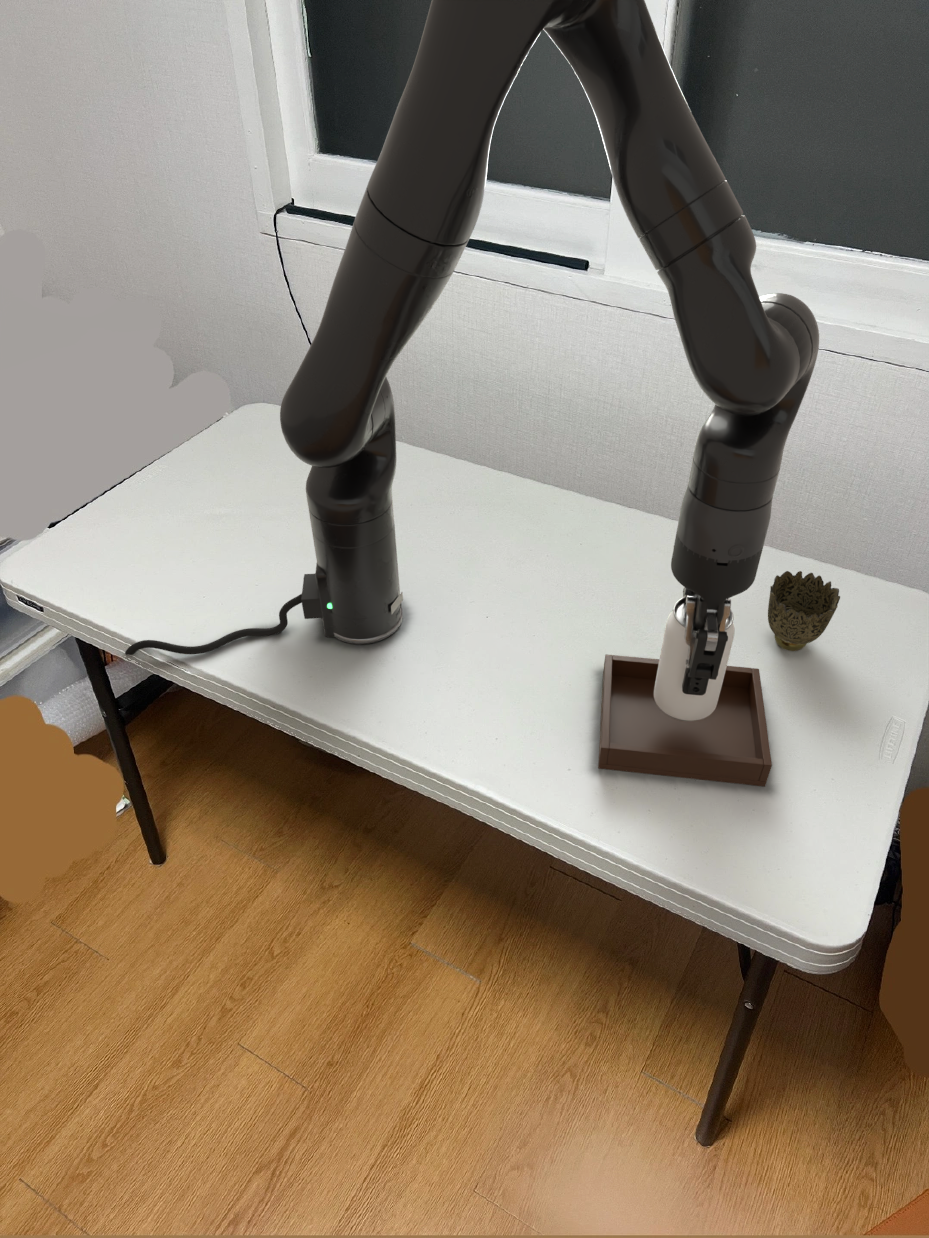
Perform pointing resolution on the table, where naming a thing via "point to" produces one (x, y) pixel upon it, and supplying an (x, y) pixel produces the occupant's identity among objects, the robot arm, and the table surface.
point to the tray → (682, 727)
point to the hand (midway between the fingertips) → (691, 666)
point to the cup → (800, 609)
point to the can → (675, 665)
